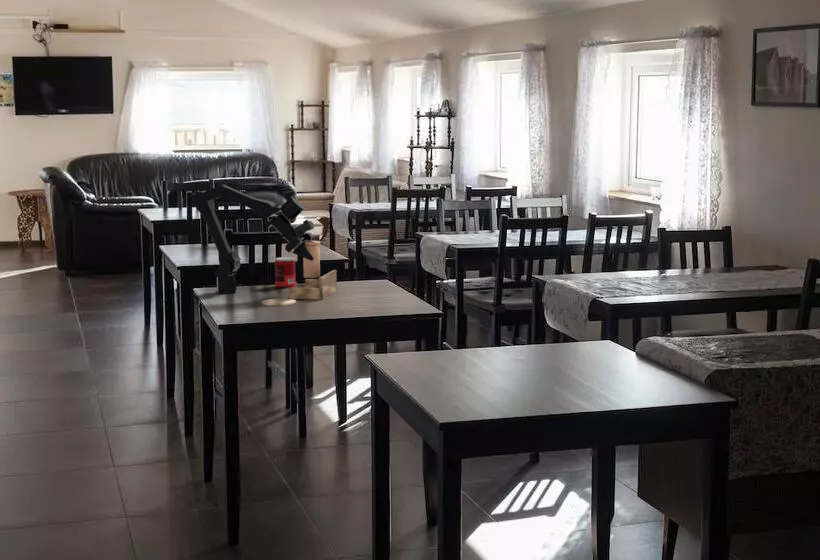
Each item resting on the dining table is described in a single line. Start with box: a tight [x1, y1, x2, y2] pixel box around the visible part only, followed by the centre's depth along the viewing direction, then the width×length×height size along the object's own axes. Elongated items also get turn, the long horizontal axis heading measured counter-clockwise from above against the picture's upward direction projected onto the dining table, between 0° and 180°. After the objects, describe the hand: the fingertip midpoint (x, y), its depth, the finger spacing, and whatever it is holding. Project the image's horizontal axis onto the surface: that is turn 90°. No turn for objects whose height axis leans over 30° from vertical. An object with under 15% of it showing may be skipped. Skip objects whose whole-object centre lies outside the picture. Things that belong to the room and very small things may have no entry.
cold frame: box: [289, 269, 338, 300], centre depth 408 cm, size 12×21×8 cm, turn 170°
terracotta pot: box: [302, 240, 321, 279], centre depth 407 cm, size 7×7×13 cm
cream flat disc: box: [261, 298, 297, 307], centre depth 390 cm, size 12×12×1 cm
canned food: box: [274, 256, 296, 289], centre depth 428 cm, size 8×8×11 cm
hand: (315, 258), depth 407 cm, fingers closed on terracotta pot, 6 cm apart
